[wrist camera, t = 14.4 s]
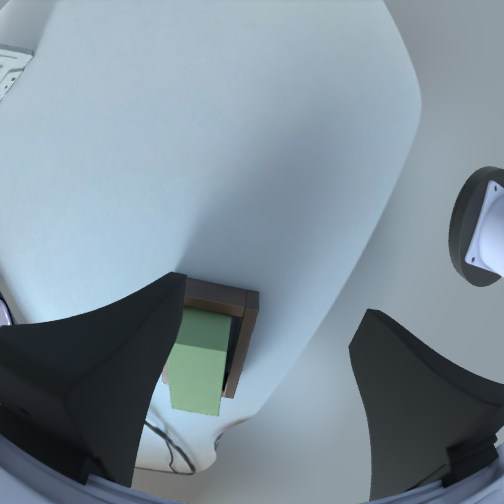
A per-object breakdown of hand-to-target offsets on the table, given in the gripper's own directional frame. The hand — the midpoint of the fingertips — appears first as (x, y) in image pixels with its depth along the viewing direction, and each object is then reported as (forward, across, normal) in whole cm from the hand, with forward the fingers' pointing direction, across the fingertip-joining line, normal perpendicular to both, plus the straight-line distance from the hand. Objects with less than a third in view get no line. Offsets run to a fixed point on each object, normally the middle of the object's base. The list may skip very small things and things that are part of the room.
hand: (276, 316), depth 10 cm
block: (+10, +3, +10) cm, 15 cm away
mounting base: (+10, +3, +10) cm, 15 cm away
